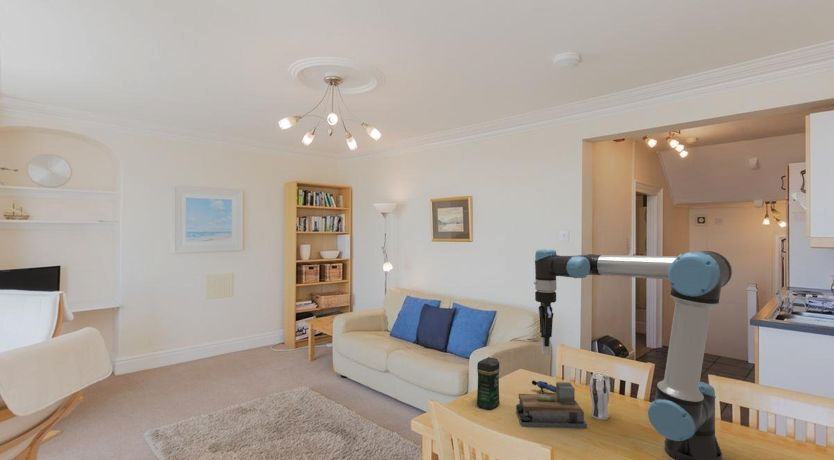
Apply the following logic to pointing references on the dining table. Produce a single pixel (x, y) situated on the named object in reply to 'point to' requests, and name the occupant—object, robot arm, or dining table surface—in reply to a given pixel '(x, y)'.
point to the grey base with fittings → (550, 418)
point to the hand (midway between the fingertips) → (545, 354)
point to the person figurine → (544, 386)
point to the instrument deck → (546, 405)
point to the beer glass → (600, 396)
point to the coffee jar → (488, 383)
